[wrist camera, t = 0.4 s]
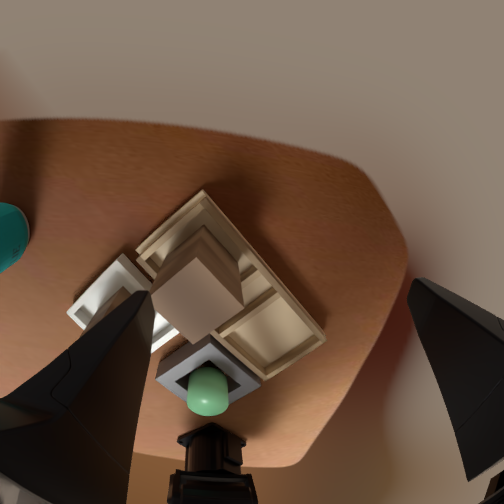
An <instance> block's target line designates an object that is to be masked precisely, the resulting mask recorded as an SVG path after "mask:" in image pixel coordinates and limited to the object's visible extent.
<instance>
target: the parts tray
mask: <svg viewBox="0 0 504 504" xmlns="http://www.w3.org/2000/svg"><path fill="white" fill-rule="evenodd" d="M122 286H124V287H125V288H126V289H127V290H128V291H129V292H130V293H131V294H133V293H134V292H135V291H137V290H148V291H150V289H151V286H152V283H151V282H150V281H149V280H148V279H147V278H146V277H145V276H144V275H143V274H142V273H141V272H140V271H139V270H138V269H137V267H136V266H135V265H134V264H133V263H132V262H131V261H130V260H129V259H128V258H127V257H126V256H125V255H124V254H123V253H122V254H121V255H120V256H119V257H118V258H117V259H116V260H115V261H114V262H113V263H112V264H111V265H110V266H109V267H108V268H107V269H106V270H105V271H104V272H103V273H102V274H101V275H100V276H99V277H98V278H97V279H96V280H95V281H94V282H93V283H92V284H91V285H90V287H89V288H88V289H87V290H86V291H85V292H84V293H83V294H82V295H81V296H80V297H79V298H78V299H77V300H76V302H75V303H74V304H73V305H72V306H71V307H70V309H69V310H68V311H67V312H66V313H67V314H68V315H69V316H70V317H71V318H72V319H73V320H74V321H75V322H76V323H77V324H78V325H79V326H80V327H81V328H82V329H83V330H85V328H86V327H87V325H88V323H89V322H90V320H91V319H92V317H93V316H94V314H95V313H96V311H97V310H98V309H99V308H100V307H101V306H102V305H103V304H104V303H105V302H106V301H107V300H108V299H109V298H110V297H111V296H113V295H114V294H115V293H116V292H117V291H118V290H119V289H120V288H121V287H122ZM154 310H155V309H154ZM178 333H179V331H177V330H176V329H175V328H174V327H173V326H172V325H171V324H170V323H169V322H168V321H167V320H166V319H164V318H163V317H162V316H161V315H160V314H159V313H158V312H157V311H156V310H155V321H154V329H153V338H152V348H151V353H152V352H153V351H155V350H156V349H157V348H159V347H160V346H162V345H163V344H164V343H166V342H167V341H168V340H170V339H171V338H173V337H174V336H175V335H177V334H178Z"/></svg>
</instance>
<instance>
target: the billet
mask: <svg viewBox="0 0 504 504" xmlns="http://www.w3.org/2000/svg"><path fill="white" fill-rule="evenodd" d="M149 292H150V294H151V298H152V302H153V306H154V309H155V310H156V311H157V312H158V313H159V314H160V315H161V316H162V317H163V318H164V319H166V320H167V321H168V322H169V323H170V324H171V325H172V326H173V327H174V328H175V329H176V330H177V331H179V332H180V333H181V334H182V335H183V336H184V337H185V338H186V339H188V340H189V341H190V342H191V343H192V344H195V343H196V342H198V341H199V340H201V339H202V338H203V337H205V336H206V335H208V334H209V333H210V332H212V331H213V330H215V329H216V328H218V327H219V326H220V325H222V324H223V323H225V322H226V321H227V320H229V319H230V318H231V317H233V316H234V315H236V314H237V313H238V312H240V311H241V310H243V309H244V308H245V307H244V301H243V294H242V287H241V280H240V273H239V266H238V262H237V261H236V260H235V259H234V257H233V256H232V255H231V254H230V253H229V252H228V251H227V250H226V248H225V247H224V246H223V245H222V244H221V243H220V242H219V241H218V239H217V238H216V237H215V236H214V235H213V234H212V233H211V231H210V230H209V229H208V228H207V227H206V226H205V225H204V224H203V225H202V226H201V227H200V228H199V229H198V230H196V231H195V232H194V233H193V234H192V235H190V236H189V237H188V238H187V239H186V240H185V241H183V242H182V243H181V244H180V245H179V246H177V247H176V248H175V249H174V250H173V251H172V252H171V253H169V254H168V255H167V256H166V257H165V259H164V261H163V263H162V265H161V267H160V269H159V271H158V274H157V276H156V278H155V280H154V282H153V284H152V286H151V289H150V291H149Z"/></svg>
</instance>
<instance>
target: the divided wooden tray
mask: <svg viewBox="0 0 504 504" xmlns="http://www.w3.org/2000/svg"><path fill="white" fill-rule="evenodd" d="M203 224H204V225H205V226H206V227H207V228H208V229H209V230H210V231H211V233H212V234H213V235H214V236H215V237H216V238H217V239H218V241H219V242H220V243H221V244H222V245H223V246H224V247H225V248H226V250H227V251H228V252H229V253H230V254H231V255H232V256H233V257H234V259H235V260H236V261H237V262H238V266H239V273H240V280H241V287H242V294H243V301H244V307H245V308H244V309H243V310H241V311H240V312H238V313H237V314H236V315H234V316H233V317H231V318H230V319H229V320H227V321H226V322H225V323H223V324H222V325H220V326H219V327H218V328H216V329H215V330H213V331H212V332H210V334H211V335H212V336H213V337H214V338H215V339H217V340H218V341H219V342H220V343H221V344H222V345H223V346H224V347H225V348H227V349H228V350H229V351H230V352H231V353H232V354H233V355H235V356H236V357H237V358H238V359H239V360H240V361H241V362H243V363H244V364H245V365H246V366H247V367H248V368H250V369H251V370H252V371H253V372H254V373H256V374H257V375H258V376H259V377H260V378H262V379H263V380H264V381H266V380H268V379H270V378H271V377H273V376H274V375H276V374H278V373H279V372H281V371H282V370H284V369H286V368H287V367H289V366H290V365H292V364H293V363H295V362H296V361H298V360H299V359H301V358H302V357H304V356H305V355H307V354H308V353H310V352H311V351H313V350H314V349H316V348H317V347H319V346H320V345H321V344H323V343H324V342H326V341H327V339H326V337H325V336H326V335H325V333H324V331H323V330H322V328H321V327H320V326H319V325H318V324H317V323H316V321H315V320H314V319H313V318H312V317H311V315H310V314H309V313H308V312H307V311H306V310H305V308H304V307H303V306H302V305H301V304H300V303H299V301H298V300H297V299H296V298H295V297H294V295H293V294H292V293H291V292H290V291H289V290H288V288H287V287H286V286H285V285H284V284H283V282H282V281H281V280H280V279H279V278H278V277H277V275H276V274H275V273H274V272H273V271H272V270H271V268H270V267H269V266H268V265H267V264H266V262H265V261H264V260H263V259H262V258H261V257H260V255H259V254H258V253H257V252H256V251H255V250H254V248H253V247H252V246H251V245H250V244H249V242H248V241H247V240H246V239H245V238H244V237H243V235H242V234H241V233H240V232H239V231H238V230H237V228H236V227H235V226H234V225H233V224H232V223H231V221H230V220H229V219H228V218H227V217H226V216H225V214H224V213H223V212H222V211H221V210H220V208H219V207H218V206H217V205H216V204H215V203H214V201H213V200H212V199H211V198H210V197H209V196H208V194H207V193H206V192H205V191H204V190H203V189H202V190H201V191H200V192H199V193H197V194H196V195H195V196H194V197H193V198H191V199H190V200H189V201H188V202H187V203H186V204H184V205H183V206H182V207H181V208H180V209H179V210H178V211H176V212H175V213H174V214H173V215H172V216H171V217H170V218H169V219H167V220H166V221H165V222H164V223H163V224H162V225H161V226H160V227H159V228H157V229H156V230H155V231H154V232H153V233H152V234H151V235H150V236H149V237H148V238H147V239H145V240H144V241H143V242H142V243H141V244H140V245H139V246H138V247H137V249H136V251H137V252H138V253H139V256H138V258H137V259H136V261H137V262H138V263H139V264H140V265H141V266H142V267H143V268H144V269H145V270H146V272H147V273H148V274H149V275H150V276H151V277H152V278H153V279H154V280H155V278H156V276H157V274H158V271H159V269H160V267H161V265H162V263H163V261H164V259H165V257H166V256H167V255H168V254H169V253H171V252H172V251H173V250H174V249H175V248H176V247H177V246H179V245H180V244H181V243H182V242H183V241H185V240H186V239H187V238H188V237H189V236H190V235H192V234H193V233H194V232H195V231H196V230H198V229H199V228H200V227H201V226H202V225H203Z"/></svg>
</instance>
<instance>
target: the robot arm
mask: <svg viewBox="0 0 504 504" xmlns="http://www.w3.org/2000/svg"><path fill="white" fill-rule="evenodd" d="M407 303H408V306H409V309H410V312H411V315H412V318H413V321H414V324H415V327H416V330H417V333H418V336H419V338H420V341H421V343H422V345H423V348H424V350H425V353H426V355H427V357H428V360H429V362H430V365H431V367H432V370H433V372H434V375H435V378H436V380H437V383H438V385H439V388H440V391H441V394H442V396H443V399H444V402H445V405H446V408H447V411H448V414H449V417H450V420H451V423H452V426H453V429H454V432H455V436H456V439H457V443H458V447H459V450H460V454H461V457H462V461H463V465H464V469H465V473H466V478H467V480H468V482H469V481H471V480H473V479H474V478H476V477H478V476H479V475H481V474H483V473H484V472H486V471H488V470H489V469H491V468H492V467H494V466H495V465H497V464H498V463H500V462H501V461H503V460H504V320H502V319H501V318H498V317H496V316H495V315H493V314H492V313H490V312H488V311H486V310H485V309H482V308H481V307H479V306H477V305H475V304H474V303H472V302H470V301H468V300H466V299H464V298H462V297H461V296H459V295H457V294H455V293H453V292H451V291H449V290H447V289H445V288H444V287H442V286H440V285H437V284H436V283H434V282H432V281H430V280H428V279H426V278H415V279H414V280H413V281H412V284H411V287H410V290H409V293H408V296H407ZM154 321H155V310H154V306H153V302H152V298H151V294H150V292H149V291H148V290H137V291H135V292H134V293H133V294H132V295H130V296H129V297H128V298H127V299H126V300H124V301H123V302H122V303H121V304H119V305H118V306H117V307H116V308H115V309H113V310H112V311H111V312H110V313H109V314H107V315H106V316H105V317H104V318H103V319H101V320H100V321H99V322H98V323H97V324H95V325H94V326H93V327H92V328H91V329H89V330H88V331H87V332H86V333H85V334H84V335H82V336H81V337H80V338H79V339H78V340H77V341H75V342H74V343H73V344H72V345H71V346H70V347H69V348H68V349H66V350H65V351H64V352H63V353H61V354H60V355H59V356H58V357H57V358H56V359H54V360H53V361H52V362H51V363H50V364H48V365H47V366H46V367H45V368H43V369H42V370H41V371H39V372H38V373H37V374H35V375H34V376H33V377H31V378H30V379H29V380H27V381H26V382H25V383H23V384H22V385H21V386H19V387H18V388H17V389H15V390H14V391H13V392H11V393H10V394H8V395H7V396H5V397H3V398H0V504H126V500H127V492H128V483H129V474H130V467H131V460H132V453H133V447H134V440H135V434H136V428H137V423H138V417H139V412H140V406H141V401H142V396H143V391H144V386H145V381H146V376H147V371H148V367H149V362H150V357H151V348H152V338H153V329H154ZM177 443H179V444H180V445H182V446H184V447H186V456H185V471H181V470H179V469H176V474H172V475H170V484H169V491H168V497H167V503H168V504H258V499H257V495H256V491H255V487H254V483H253V479H252V475H251V474H241V465H242V464H243V460H242V450H241V448H242V447H245V446H246V442H245V441H244V440H242V439H240V438H239V437H237V436H235V435H233V434H232V433H230V432H228V431H227V430H225V429H223V428H222V427H220V426H219V425H217V424H215V423H209V424H207V425H205V426H203V427H201V428H199V429H197V430H195V431H193V432H190V433H188V434H186V435H184V436H182V437H180V438H178V439H177ZM479 504H504V470H503V471H502V472H500V473H499V474H497V475H496V476H494V477H493V478H491V480H490V484H489V486H488V489H487V492H486V495H485V498H484V500H483V501H482V502H480V503H479Z"/></svg>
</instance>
